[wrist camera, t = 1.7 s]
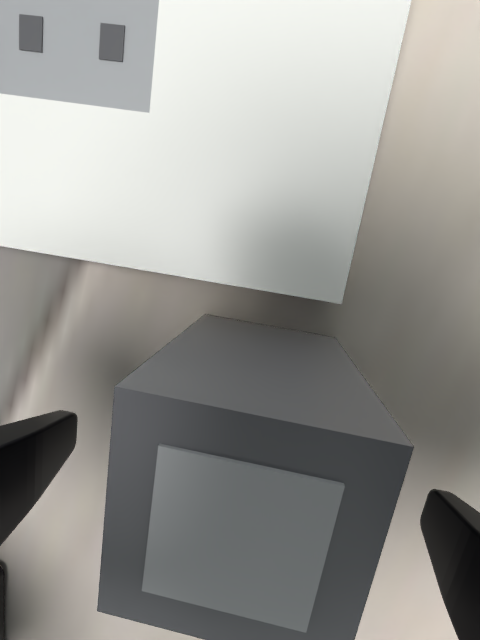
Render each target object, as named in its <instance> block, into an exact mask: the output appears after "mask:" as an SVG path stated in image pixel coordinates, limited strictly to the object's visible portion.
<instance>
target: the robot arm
mask: <svg viewBox="0 0 480 640" xmlns="http://www.w3.org/2000/svg"><path fill="white" fill-rule="evenodd" d="M76 437H77V415H76V414H75V413H73V412H68V411H63V410H59V411H55V412H51V413H47V414H44V415H40V416H36V417H32V418H29V419H25V420H21V421H17V422H13V423H10V424H6V425H2V426H0V546H1V544H2V543H3V542H4V541H5V540H6V538H7V537H8V536H9V535H10V534H11V533H12V531H13V530H14V529H15V528H16V527H17V525H18V524H19V523H20V522H21V521H22V520H23V518H24V517H25V516H26V515H27V514H28V512H29V511H30V510H31V509H32V507H33V506H34V505H35V504H36V502H37V501H38V500H39V498H40V497H41V496H42V494H43V493H44V491H45V490H46V488H47V487H48V486H49V484H50V483H51V481H52V480H53V478H54V477H55V476H56V474H57V473H58V471H59V470H60V468H61V467H62V466H63V464H64V463H65V461H66V460H67V458H68V457H69V456H70V454H71V453H72V451H73V449H74V447H75V444H76ZM420 524H421V530H422V533H423V536H424V540H425V543H426V546H427V549H428V553H429V556H430V559H431V562H432V566H433V569H434V572H435V576H436V579H437V582H438V585H439V589H440V592H441V595H442V598H443V601H444V603H445V606H446V609H447V611H448V614H449V617H450V619H451V622H452V624H453V627H454V629H455V632H456V634H457V637H458V639H459V640H480V512H478V511H477V510H475V509H474V508H472V507H471V506H470V505H468V504H467V503H465V502H464V501H462V500H461V499H460V498H458V497H457V496H455V495H454V494H452V493H450V492H447V491H442V490H437V489H433V490H431V491H430V492H429V494H428V496H427V499H426V502H425V505H424V508H423V511H422V514H421V519H420ZM0 640H4V572H3V569H2V568H1V566H0Z"/></svg>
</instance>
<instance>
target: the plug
mask: <svg viewBox="0 0 480 640" xmlns="http://www.w3.org/2000/svg"><path fill="white" fill-rule="evenodd" d="M413 448H414V446H413V445H412V444H411V442H410V441H409V439H408V438H407V437H406V435H405V434H404V432H403V431H402V430H401V428H400V427H399V426H398V424H397V423H396V421H395V420H394V419H393V417H392V416H391V414H390V413H389V412H388V410H387V409H386V408H385V406H384V405H383V403H382V402H381V401H380V399H379V398H378V396H377V395H376V394H375V392H374V391H373V389H372V388H371V387H370V385H369V384H368V383H367V381H366V380H365V378H364V377H363V376H362V374H361V373H360V371H359V370H358V369H357V367H356V366H355V364H354V363H353V362H352V360H351V359H350V358H349V356H348V355H347V353H346V352H345V351H344V349H343V348H342V346H341V345H340V344H339V342H338V341H337V340H336V338H335V337H330V336H324V335H319V334H313V333H307V332H302V331H296V330H290V329H285V328H279V327H274V326H268V325H262V324H257V323H251V322H246V321H240V320H234V319H229V318H223V317H218V316H212V315H206V314H205V315H203V316H202V317H201V318H200V319H198V320H197V321H196V322H195V323H193V324H192V325H191V326H190V327H188V328H187V329H186V330H185V331H183V332H182V333H181V334H180V335H178V336H177V337H176V338H175V339H173V340H172V341H171V342H170V343H168V344H167V345H166V346H165V347H163V348H162V349H161V350H160V351H158V352H157V353H156V354H155V355H153V356H152V357H151V358H150V359H148V360H147V361H146V362H145V363H143V364H142V365H141V366H140V367H138V368H137V369H136V370H135V371H133V372H132V373H131V374H130V375H128V376H127V377H126V378H124V379H123V380H122V381H121V382H119V383H118V384H117V385H116V386H115V388H114V401H113V414H112V427H111V439H110V452H109V465H108V478H107V491H106V504H105V517H104V530H103V543H102V556H101V569H100V582H99V595H98V607H97V611H98V612H102V613H106V614H110V615H114V616H117V617H121V618H125V619H129V620H133V621H136V622H140V623H144V624H148V625H152V626H155V627H159V628H163V629H167V630H171V631H174V632H178V633H182V634H186V635H190V636H193V637H197V638H201V639H205V640H354V639H355V636H356V633H357V630H358V626H359V623H360V620H361V617H362V613H363V610H364V607H365V604H366V600H367V597H368V594H369V591H370V588H371V584H372V581H373V578H374V575H375V571H376V568H377V565H378V562H379V558H380V555H381V552H382V549H383V545H384V542H385V539H386V536H387V532H388V529H389V526H390V523H391V519H392V516H393V513H394V510H395V507H396V503H397V500H398V497H399V494H400V490H401V487H402V484H403V481H404V477H405V474H406V471H407V468H408V464H409V461H410V458H411V455H412V451H413Z"/></svg>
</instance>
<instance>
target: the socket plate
mask: <svg viewBox="0 0 480 640" xmlns="http://www.w3.org/2000/svg"><path fill="white" fill-rule="evenodd" d="M410 5H411V0H0V246H4V247H10V248H16V249H21V250H27V251H33V252H39V253H45V254H51V255H57V256H62V257H68V258H74V259H80V260H86V261H92V262H98V263H103V264H109V265H115V266H121V267H127V268H133V269H139V270H144V271H150V272H156V273H162V274H168V275H174V276H180V277H185V278H191V279H197V280H203V281H209V282H215V283H221V284H226V285H232V286H238V287H244V288H250V289H256V290H262V291H267V292H273V293H279V294H285V295H291V296H297V297H303V298H308V299H314V300H320V301H326V302H332V303H338V304H342V300H343V296H344V292H345V287H346V283H347V279H348V274H349V270H350V266H351V261H352V257H353V253H354V248H355V244H356V239H357V235H358V231H359V226H360V222H361V218H362V213H363V209H364V205H365V200H366V196H367V192H368V187H369V183H370V179H371V174H372V170H373V166H374V161H375V157H376V152H377V148H378V144H379V139H380V135H381V131H382V126H383V122H384V118H385V113H386V109H387V105H388V100H389V96H390V92H391V87H392V83H393V79H394V74H395V70H396V65H397V61H398V57H399V52H400V48H401V44H402V39H403V35H404V31H405V26H406V22H407V18H408V13H409V9H410Z"/></svg>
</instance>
